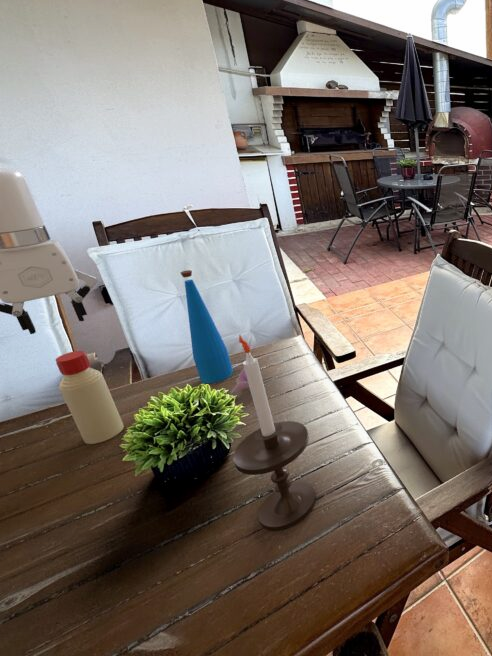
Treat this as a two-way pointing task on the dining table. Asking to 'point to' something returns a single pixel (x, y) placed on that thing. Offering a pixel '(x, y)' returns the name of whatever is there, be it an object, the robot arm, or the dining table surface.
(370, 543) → the dining table surface
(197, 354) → the bottle
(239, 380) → the lily
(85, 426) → the sauce bottle
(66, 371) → the cap
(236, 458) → the candlestick
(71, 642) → the dining table surface
